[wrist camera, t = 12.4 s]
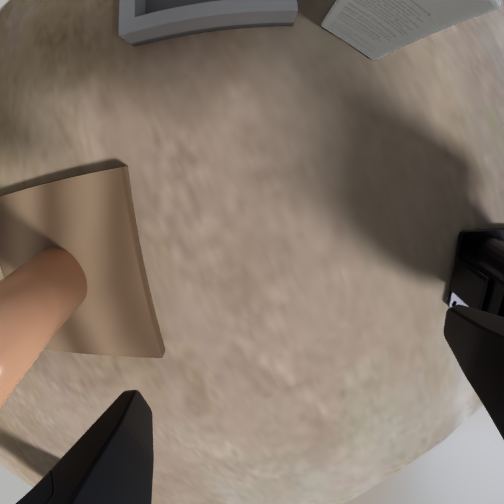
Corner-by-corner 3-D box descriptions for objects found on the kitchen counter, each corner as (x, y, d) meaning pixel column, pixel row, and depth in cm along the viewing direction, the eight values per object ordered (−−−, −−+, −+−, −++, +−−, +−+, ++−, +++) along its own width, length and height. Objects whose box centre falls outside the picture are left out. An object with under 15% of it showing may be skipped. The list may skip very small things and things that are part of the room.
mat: (127, 165, 18) (121, 167, 17) (165, 350, 23) (162, 357, 22) (-8, 198, 18) (-15, 201, 17) (36, 341, 23) (31, 347, 22)
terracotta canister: (61, 234, 18) (-61, 324, 7) (99, 292, 20) (9, 413, 9) (26, 265, 19) (-75, 350, 8) (61, 316, 21) (-20, 421, 9)
